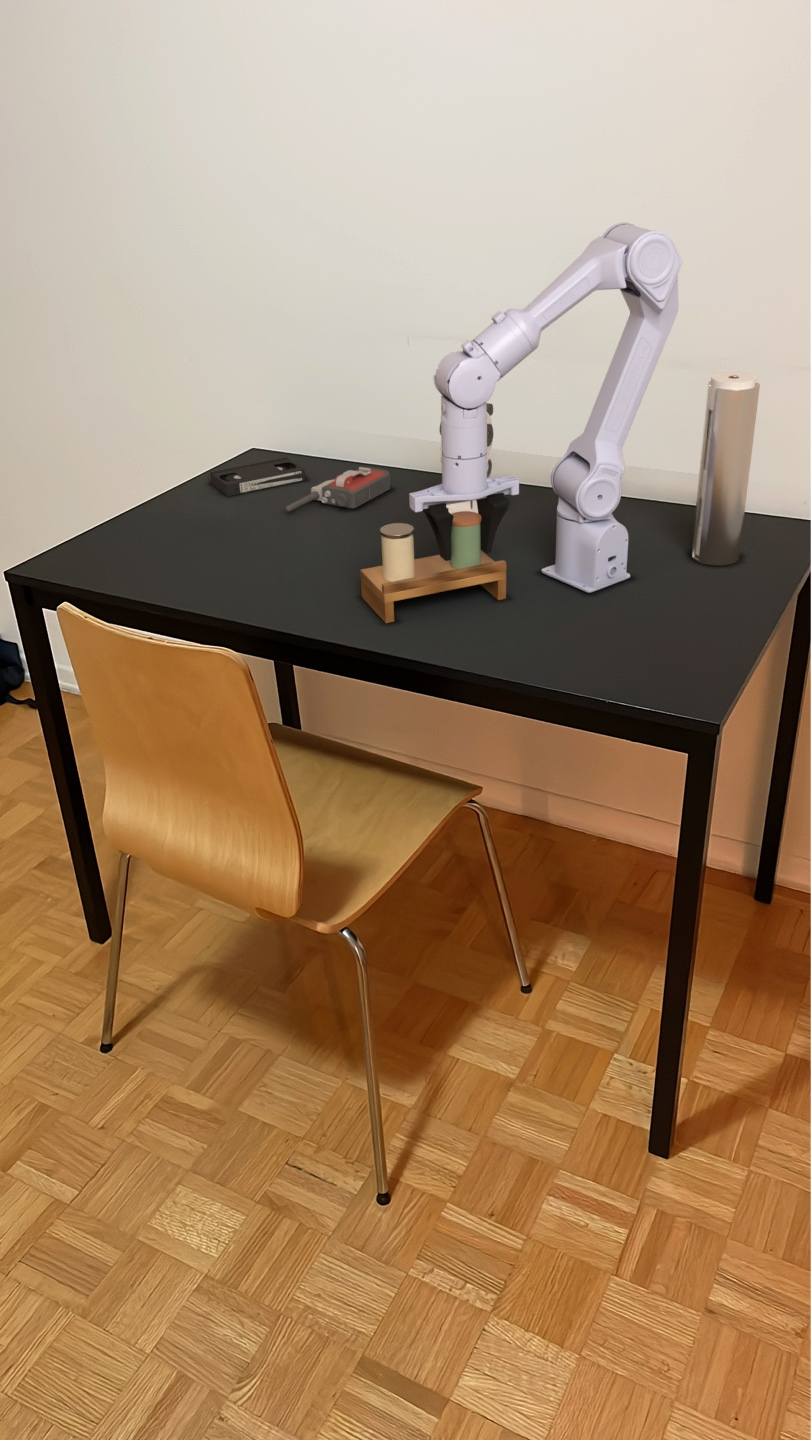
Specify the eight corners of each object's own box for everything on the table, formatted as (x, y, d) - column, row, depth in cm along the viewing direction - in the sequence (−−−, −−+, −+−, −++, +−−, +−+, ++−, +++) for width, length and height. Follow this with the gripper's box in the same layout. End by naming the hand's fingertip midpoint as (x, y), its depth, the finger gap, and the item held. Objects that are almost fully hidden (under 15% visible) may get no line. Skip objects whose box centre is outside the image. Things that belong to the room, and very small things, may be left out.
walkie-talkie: (354, 479, 194) (282, 516, 179) (352, 454, 191) (279, 489, 177) (397, 487, 189) (327, 525, 175) (396, 461, 187) (325, 498, 173)
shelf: (477, 574, 157) (477, 538, 154) (506, 598, 149) (506, 561, 147) (361, 597, 152) (359, 560, 149) (385, 623, 144) (383, 585, 142)
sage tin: (488, 564, 149) (488, 517, 146) (462, 572, 147) (462, 525, 144) (467, 554, 152) (466, 508, 149) (442, 563, 150) (441, 516, 147)
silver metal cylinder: (740, 567, 155) (762, 382, 143) (691, 565, 157) (709, 381, 144) (737, 549, 161) (759, 370, 148) (690, 547, 162) (708, 369, 149)
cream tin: (422, 576, 147) (420, 529, 143) (395, 586, 144) (393, 537, 141) (402, 567, 150) (400, 520, 146) (375, 576, 147) (373, 528, 144)
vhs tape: (227, 496, 189) (226, 484, 188) (211, 483, 195) (209, 472, 194) (306, 480, 194) (305, 469, 193) (287, 468, 200) (286, 457, 199)
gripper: (502, 436, 148) (501, 534, 155) (398, 452, 143) (402, 553, 150) (527, 450, 142) (525, 552, 149) (420, 468, 138) (423, 572, 144)
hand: (465, 554), depth 149 cm, fingers open, 5 cm apart
